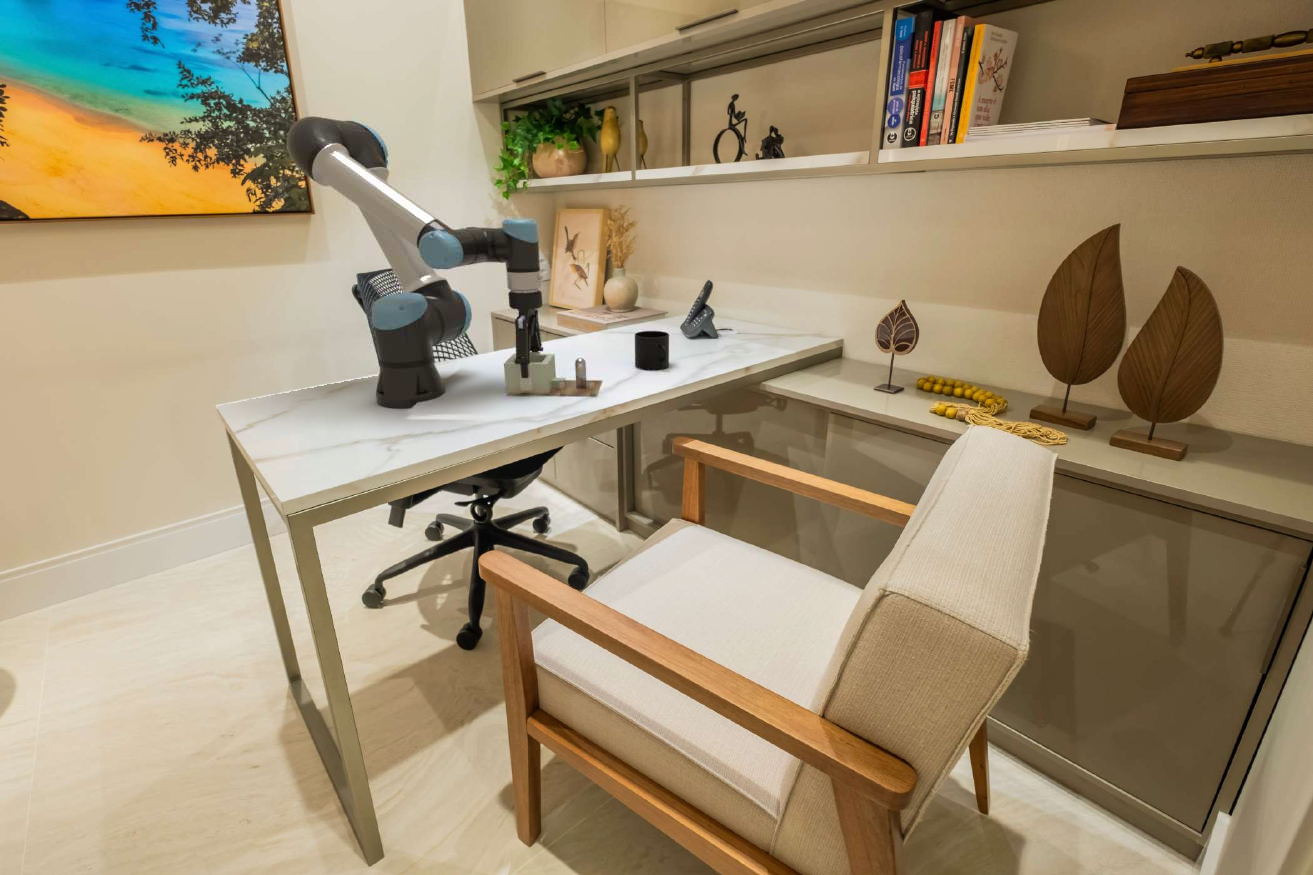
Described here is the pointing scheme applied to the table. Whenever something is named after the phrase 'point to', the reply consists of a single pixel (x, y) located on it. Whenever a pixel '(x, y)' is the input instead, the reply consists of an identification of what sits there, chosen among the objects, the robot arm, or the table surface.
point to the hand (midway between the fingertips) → (531, 384)
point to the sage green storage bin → (533, 374)
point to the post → (580, 373)
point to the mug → (651, 350)
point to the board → (569, 390)
